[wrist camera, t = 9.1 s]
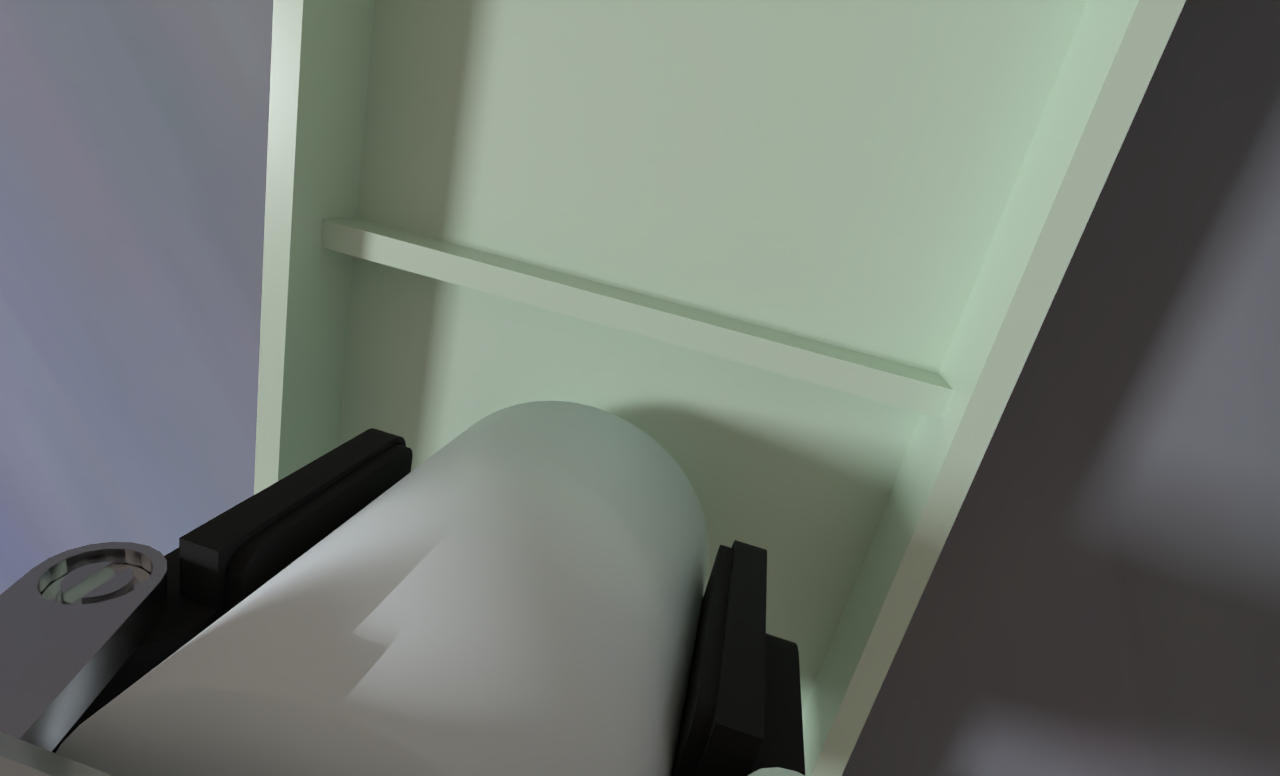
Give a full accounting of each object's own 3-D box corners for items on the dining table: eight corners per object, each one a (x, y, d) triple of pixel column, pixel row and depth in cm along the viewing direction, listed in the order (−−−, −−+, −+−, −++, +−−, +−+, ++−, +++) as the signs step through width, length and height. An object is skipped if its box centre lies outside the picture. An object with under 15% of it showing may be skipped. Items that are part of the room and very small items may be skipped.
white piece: (746, 452, 11) (704, 851, 4) (668, 698, 13) (552, 1255, 6) (449, 364, 11) (8, 594, 5) (414, 611, 13) (54, 1028, 7)
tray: (1198, -226, 9) (1553, -577, 5) (735, 908, 17) (722, 1142, 13) (405, -349, 10) (166, -704, 6) (311, 749, 18) (176, 913, 14)
